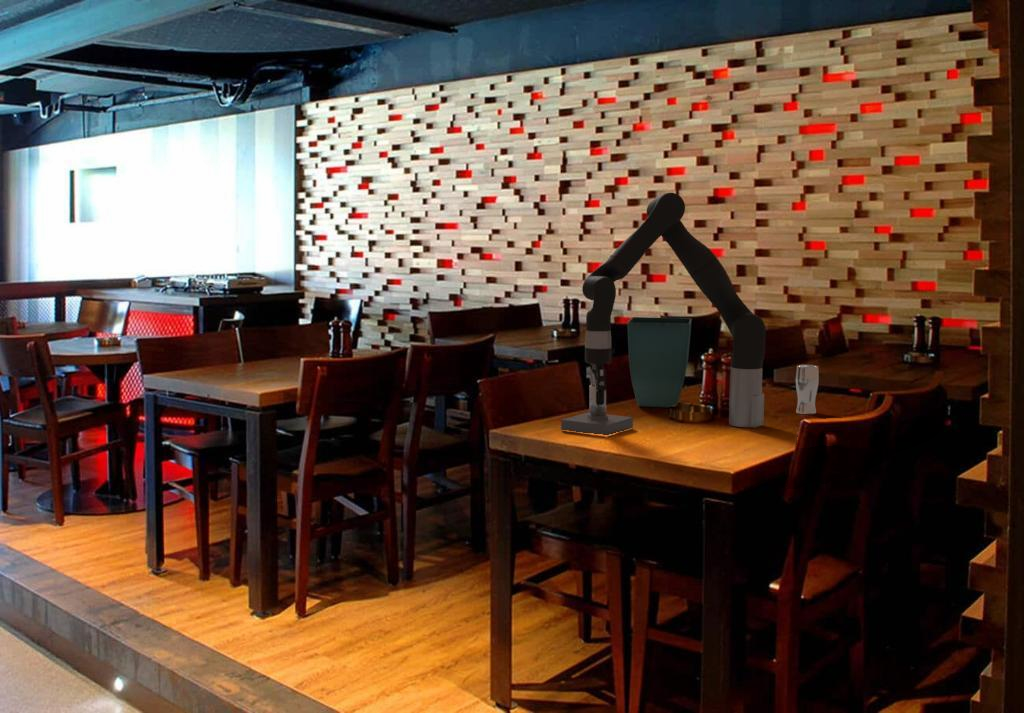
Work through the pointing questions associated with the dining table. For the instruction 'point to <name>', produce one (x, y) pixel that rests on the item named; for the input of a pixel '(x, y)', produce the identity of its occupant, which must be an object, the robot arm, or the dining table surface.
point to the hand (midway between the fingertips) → (597, 402)
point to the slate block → (597, 424)
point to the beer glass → (806, 388)
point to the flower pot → (658, 359)
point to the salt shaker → (596, 410)
